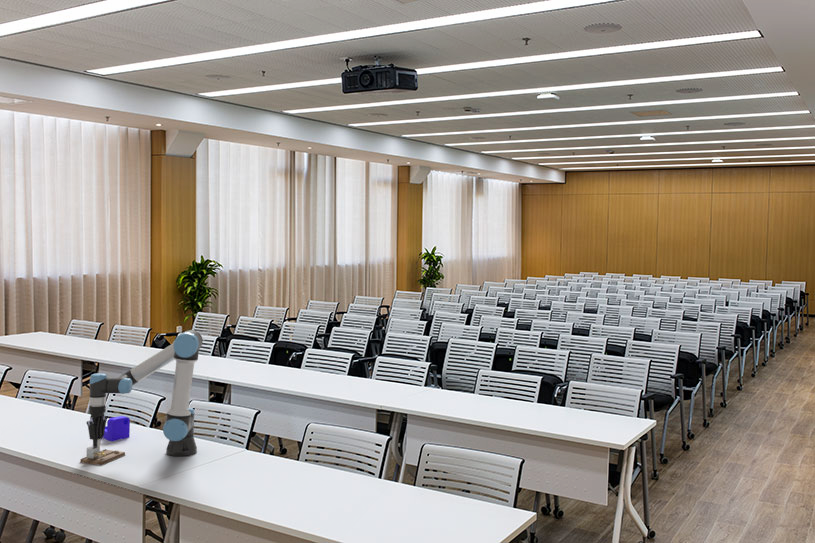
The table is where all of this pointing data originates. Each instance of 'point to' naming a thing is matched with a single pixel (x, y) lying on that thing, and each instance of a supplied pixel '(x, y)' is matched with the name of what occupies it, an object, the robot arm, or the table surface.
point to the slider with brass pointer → (94, 452)
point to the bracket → (117, 428)
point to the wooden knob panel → (103, 457)
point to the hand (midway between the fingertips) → (96, 452)
